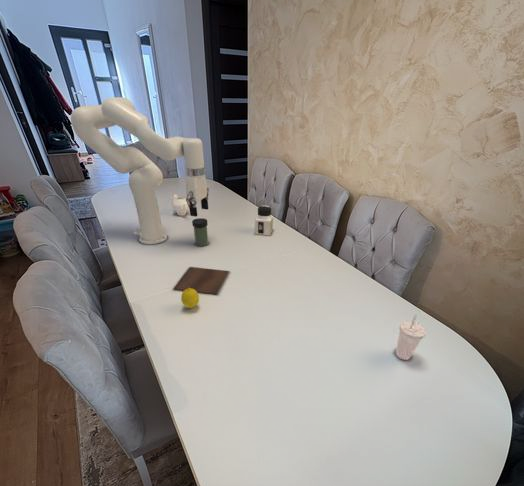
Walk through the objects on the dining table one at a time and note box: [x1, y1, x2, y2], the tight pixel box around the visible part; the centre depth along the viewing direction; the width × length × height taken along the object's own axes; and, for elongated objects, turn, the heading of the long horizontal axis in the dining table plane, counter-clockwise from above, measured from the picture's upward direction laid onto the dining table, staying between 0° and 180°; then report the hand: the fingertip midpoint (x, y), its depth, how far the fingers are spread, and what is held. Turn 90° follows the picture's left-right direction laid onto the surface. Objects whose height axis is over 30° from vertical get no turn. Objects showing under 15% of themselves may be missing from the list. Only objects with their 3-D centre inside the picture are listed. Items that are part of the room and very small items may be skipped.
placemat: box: [173, 266, 230, 296], centre depth 115 cm, size 16×16×1 cm
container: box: [254, 205, 274, 236], centre depth 152 cm, size 8×8×13 cm
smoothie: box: [395, 314, 427, 361], centre depth 81 cm, size 6×6×14 cm
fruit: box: [180, 288, 200, 309], centre depth 99 cm, size 6×6×8 cm
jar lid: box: [191, 217, 208, 228], centre depth 137 cm, size 7×7×2 cm
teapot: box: [171, 192, 189, 217], centre depth 172 cm, size 10×20×9 cm, turn 31°
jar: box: [193, 225, 209, 247], centre depth 140 cm, size 6×6×11 cm
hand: (199, 212), depth 134 cm, fingers open, 9 cm apart
